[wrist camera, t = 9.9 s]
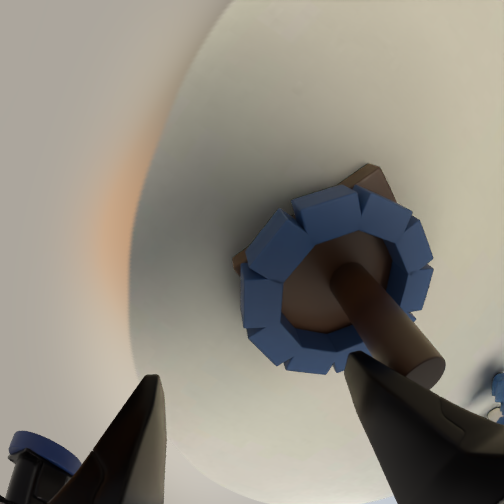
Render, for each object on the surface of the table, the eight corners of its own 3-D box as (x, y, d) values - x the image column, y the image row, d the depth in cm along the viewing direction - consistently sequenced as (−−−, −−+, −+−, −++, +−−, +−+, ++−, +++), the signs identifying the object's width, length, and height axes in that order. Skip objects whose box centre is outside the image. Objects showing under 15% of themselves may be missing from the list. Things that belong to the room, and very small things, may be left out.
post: (311, 352, 18) (357, 467, 11) (231, 257, 15) (251, 391, 7) (419, 277, 17) (506, 362, 9) (368, 162, 14) (497, 214, 6)
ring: (303, 378, 17) (309, 398, 16) (196, 265, 14) (195, 283, 12) (432, 290, 16) (447, 304, 14) (370, 144, 12) (389, 149, 11)
